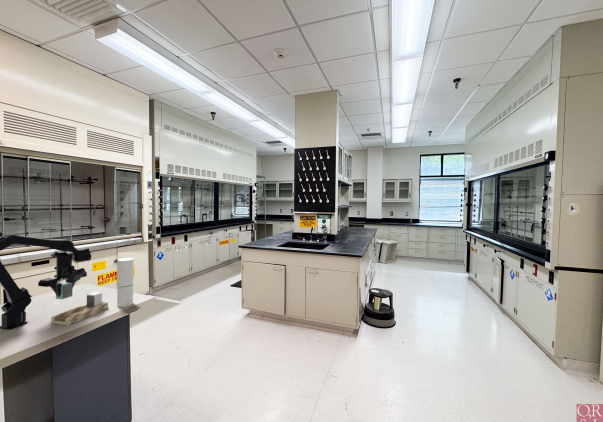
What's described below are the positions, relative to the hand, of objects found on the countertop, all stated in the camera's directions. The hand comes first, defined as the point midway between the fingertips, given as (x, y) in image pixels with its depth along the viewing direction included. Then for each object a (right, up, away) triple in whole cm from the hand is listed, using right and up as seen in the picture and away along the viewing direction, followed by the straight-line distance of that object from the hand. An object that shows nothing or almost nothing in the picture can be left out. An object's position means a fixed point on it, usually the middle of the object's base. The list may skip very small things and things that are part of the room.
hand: (64, 294), depth 128 cm
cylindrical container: (+23, -9, +12) cm, 27 cm away
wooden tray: (+11, -9, -3) cm, 15 cm away
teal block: (0, -1, 0) cm, 1 cm away
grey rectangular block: (+12, -7, +4) cm, 15 cm away
